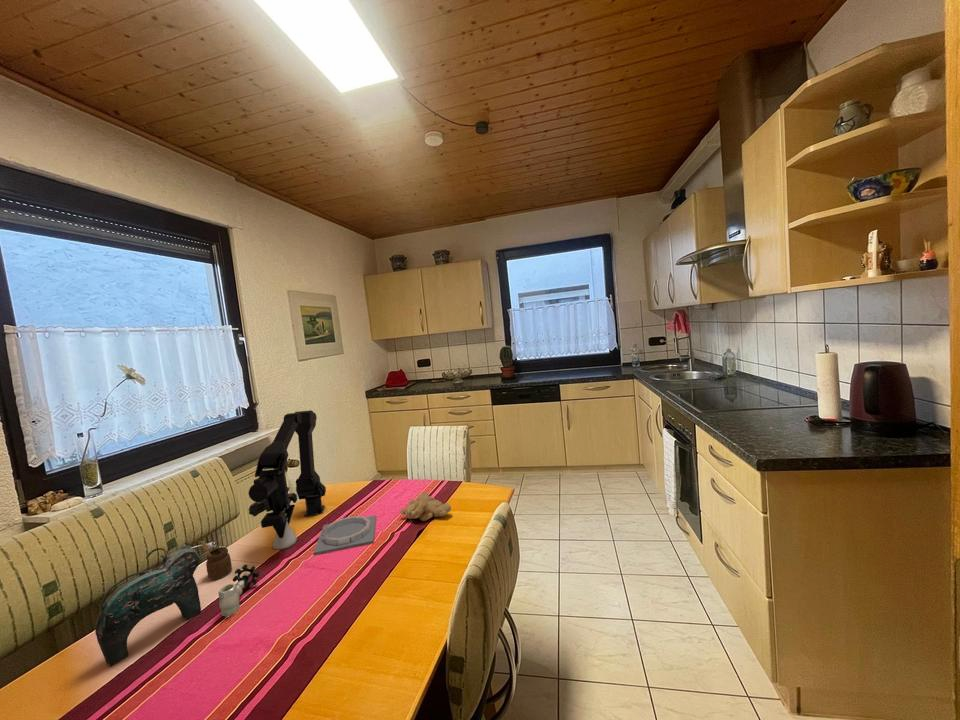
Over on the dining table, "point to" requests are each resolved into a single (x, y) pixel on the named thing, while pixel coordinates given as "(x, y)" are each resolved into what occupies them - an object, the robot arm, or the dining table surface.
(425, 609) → the dining table surface
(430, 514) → the ginger root
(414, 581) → the dining table surface
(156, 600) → the green animal figurine
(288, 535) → the flask
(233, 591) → the valve
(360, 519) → the stone ring
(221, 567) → the utensil holder
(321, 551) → the rubber mat
